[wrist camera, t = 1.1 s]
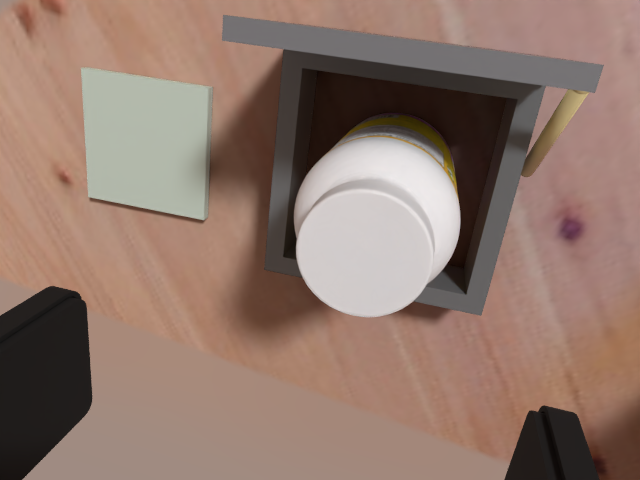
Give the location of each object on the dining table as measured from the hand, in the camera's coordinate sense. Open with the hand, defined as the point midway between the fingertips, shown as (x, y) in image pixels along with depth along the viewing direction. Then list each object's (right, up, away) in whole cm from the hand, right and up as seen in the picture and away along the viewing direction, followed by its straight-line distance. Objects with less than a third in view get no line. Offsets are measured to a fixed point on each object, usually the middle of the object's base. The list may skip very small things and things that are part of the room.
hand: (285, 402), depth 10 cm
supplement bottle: (+5, +7, +18) cm, 21 cm away
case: (+5, +7, +18) cm, 20 cm away
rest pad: (-10, +9, +21) cm, 25 cm away
